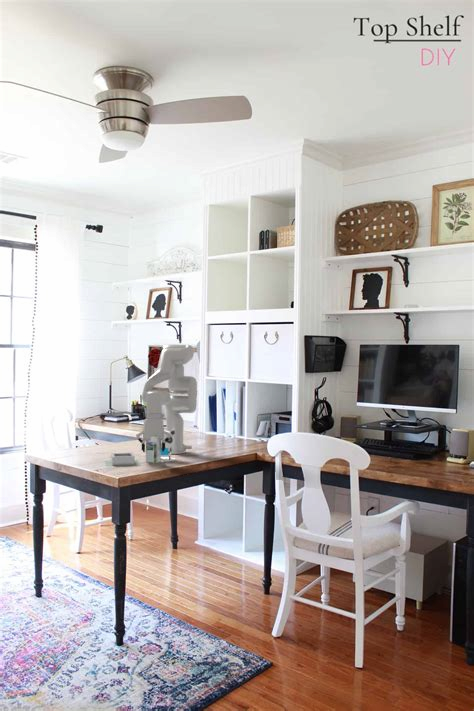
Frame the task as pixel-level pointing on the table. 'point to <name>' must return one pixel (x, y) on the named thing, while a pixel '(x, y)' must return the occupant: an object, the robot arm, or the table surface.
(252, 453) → the table surface
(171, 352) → the robot arm
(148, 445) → the syrup box
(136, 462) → the deck plate
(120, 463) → the chute collar
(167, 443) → the panda figurine
